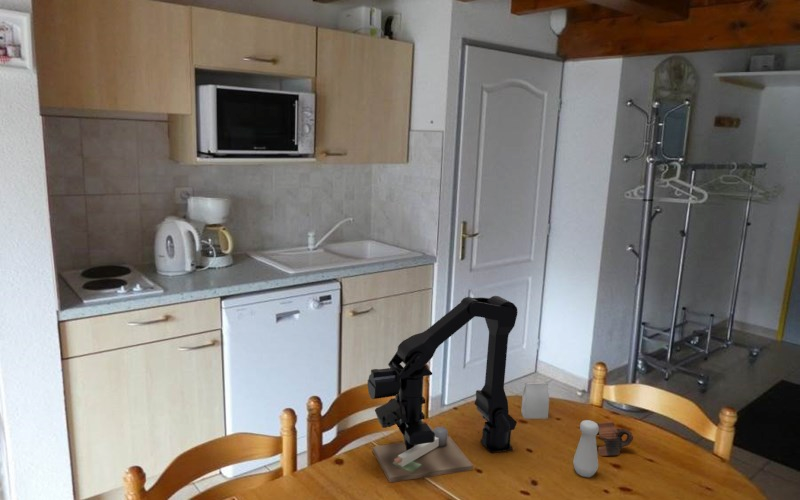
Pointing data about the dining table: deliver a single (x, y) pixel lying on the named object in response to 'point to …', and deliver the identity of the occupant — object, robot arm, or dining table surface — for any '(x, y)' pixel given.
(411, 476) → the board
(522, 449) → the dining table surface
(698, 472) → the dining table surface
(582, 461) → the salt shaker
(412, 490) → the dining table surface
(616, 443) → the pottery mug
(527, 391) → the grey block
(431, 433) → the robot arm
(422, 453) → the lever
